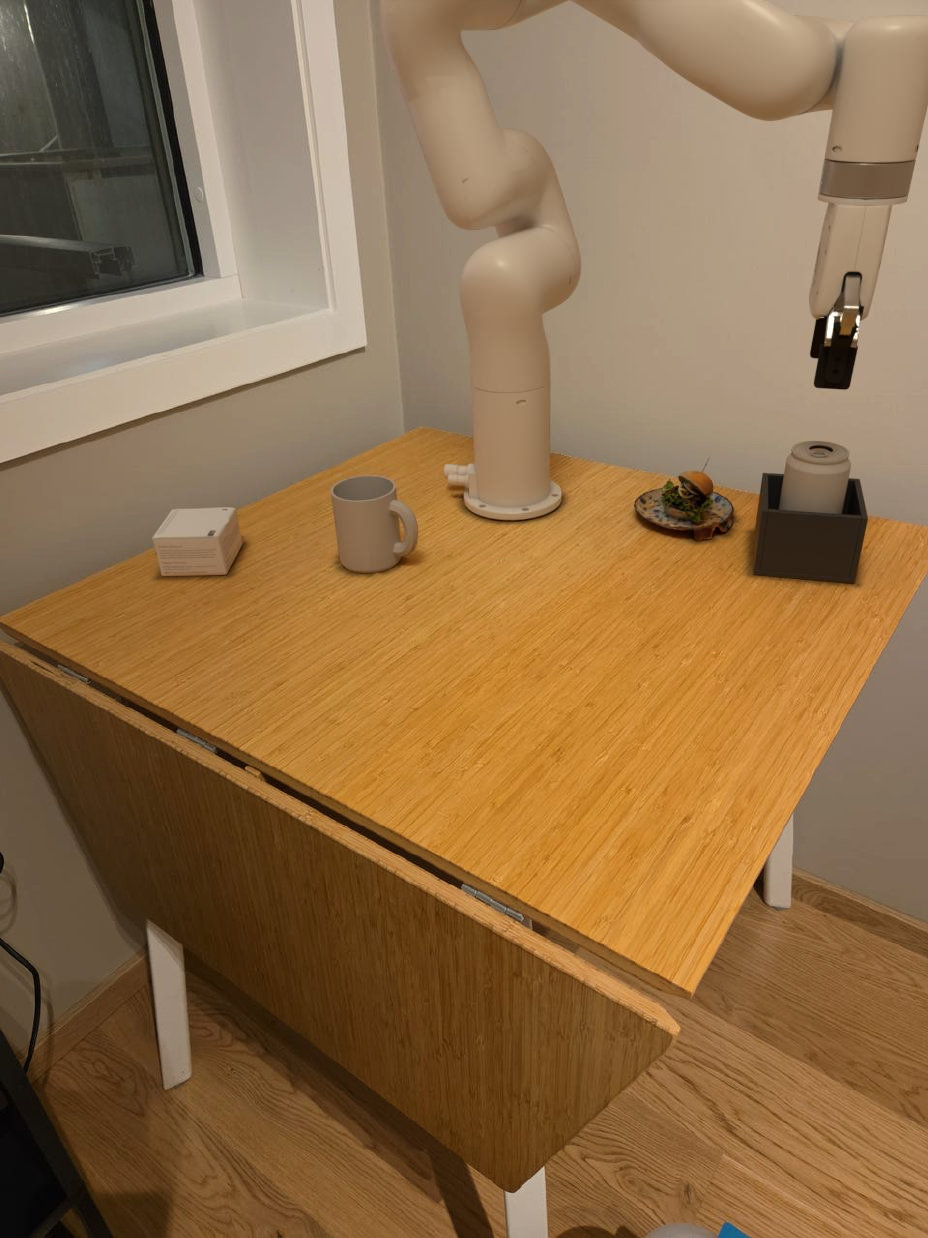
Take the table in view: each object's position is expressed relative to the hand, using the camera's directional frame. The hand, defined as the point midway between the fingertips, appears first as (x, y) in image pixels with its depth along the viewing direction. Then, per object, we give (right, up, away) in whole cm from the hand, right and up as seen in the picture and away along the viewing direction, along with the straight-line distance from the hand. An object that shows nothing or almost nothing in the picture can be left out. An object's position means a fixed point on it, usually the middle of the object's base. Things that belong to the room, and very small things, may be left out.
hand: (828, 372), depth 90 cm
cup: (-46, -18, +14) cm, 51 cm away
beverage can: (+1, -17, +10) cm, 20 cm away
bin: (+1, -18, +11) cm, 21 cm away
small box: (-67, -18, +16) cm, 71 cm away
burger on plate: (-10, -13, +20) cm, 26 cm away
